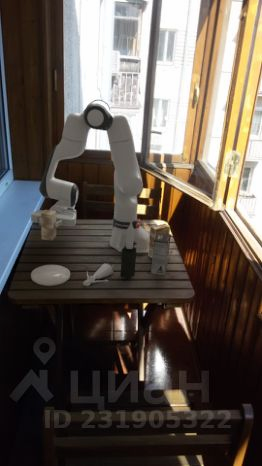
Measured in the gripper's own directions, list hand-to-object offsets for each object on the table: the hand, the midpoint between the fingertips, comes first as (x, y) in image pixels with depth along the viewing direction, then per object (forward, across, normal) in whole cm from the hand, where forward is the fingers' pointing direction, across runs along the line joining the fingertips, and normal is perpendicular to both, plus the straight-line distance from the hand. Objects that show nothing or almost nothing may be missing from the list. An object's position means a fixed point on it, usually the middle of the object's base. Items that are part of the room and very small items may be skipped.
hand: (48, 224), depth 169 cm
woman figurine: (+10, +25, +18) cm, 33 cm away
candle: (+5, +37, +17) cm, 41 cm away
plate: (+14, +6, +17) cm, 23 cm away
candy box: (-18, +48, +17) cm, 54 cm away
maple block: (-1, 0, +6) cm, 7 cm away
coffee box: (-4, +50, +17) cm, 53 cm away
